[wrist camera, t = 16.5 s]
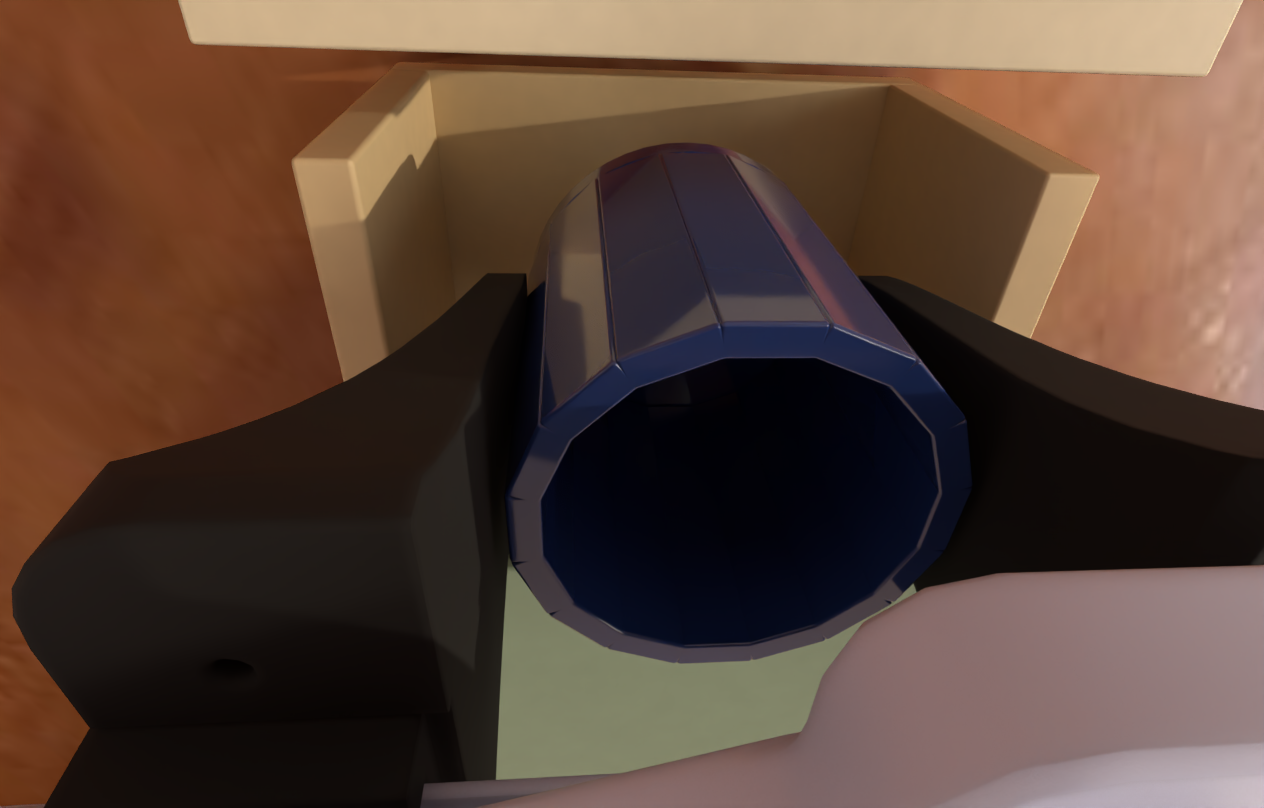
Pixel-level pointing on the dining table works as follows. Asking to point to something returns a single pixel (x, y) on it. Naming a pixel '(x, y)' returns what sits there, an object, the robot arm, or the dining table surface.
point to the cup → (718, 420)
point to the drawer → (695, 133)
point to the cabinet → (636, 698)
